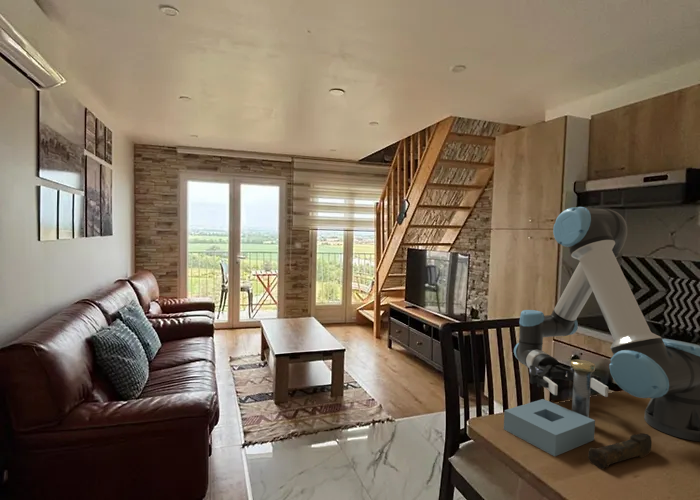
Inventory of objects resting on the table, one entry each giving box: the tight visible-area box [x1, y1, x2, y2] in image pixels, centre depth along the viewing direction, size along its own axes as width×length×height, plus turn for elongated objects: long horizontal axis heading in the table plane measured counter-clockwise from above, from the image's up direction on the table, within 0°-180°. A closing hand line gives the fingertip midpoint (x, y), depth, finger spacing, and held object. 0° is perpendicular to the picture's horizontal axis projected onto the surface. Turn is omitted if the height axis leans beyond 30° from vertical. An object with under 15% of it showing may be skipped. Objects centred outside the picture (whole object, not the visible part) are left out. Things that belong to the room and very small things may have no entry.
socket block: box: [503, 398, 596, 457], centre depth 99 cm, size 14×16×5 cm
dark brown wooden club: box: [588, 433, 652, 470], centre depth 89 cm, size 19×4×5 cm, turn 109°
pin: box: [570, 359, 596, 418], centre depth 106 cm, size 6×6×16 cm
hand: (581, 391), depth 105 cm, fingers open, 13 cm apart
